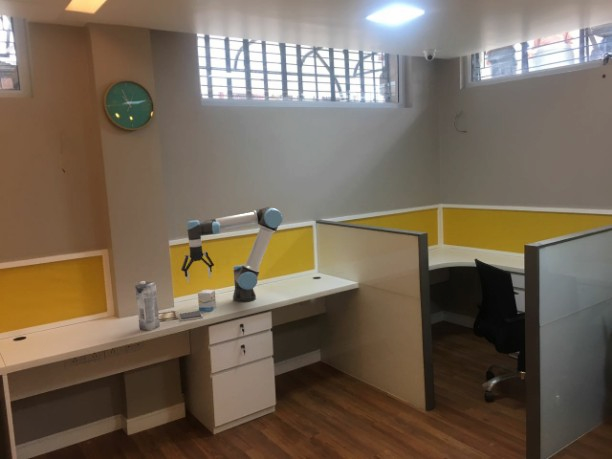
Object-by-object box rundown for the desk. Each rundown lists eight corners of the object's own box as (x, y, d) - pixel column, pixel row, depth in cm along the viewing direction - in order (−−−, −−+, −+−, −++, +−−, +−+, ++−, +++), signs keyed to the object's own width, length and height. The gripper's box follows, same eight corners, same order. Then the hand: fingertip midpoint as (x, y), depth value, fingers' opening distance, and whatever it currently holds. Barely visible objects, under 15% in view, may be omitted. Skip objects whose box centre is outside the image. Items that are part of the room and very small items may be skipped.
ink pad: (200, 312, 328) (199, 310, 328) (202, 317, 316) (202, 315, 316) (178, 315, 324) (178, 313, 323) (180, 321, 312) (180, 318, 312)
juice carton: (162, 325, 305) (157, 279, 301) (149, 331, 296) (145, 284, 292) (149, 324, 309) (145, 278, 305) (137, 330, 299) (132, 283, 296)
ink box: (211, 311, 329) (210, 293, 327) (198, 311, 331) (197, 293, 329) (216, 307, 337) (215, 289, 336) (204, 307, 339) (202, 289, 338)
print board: (176, 312, 331) (176, 310, 330) (178, 319, 316) (178, 317, 316) (149, 316, 326) (149, 314, 325) (150, 323, 311) (150, 320, 311)
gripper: (213, 242, 336) (216, 275, 339) (173, 248, 324) (177, 282, 327) (216, 243, 329) (220, 277, 332) (177, 249, 318) (180, 284, 321)
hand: (199, 279), depth 330 cm, fingers open, 13 cm apart
